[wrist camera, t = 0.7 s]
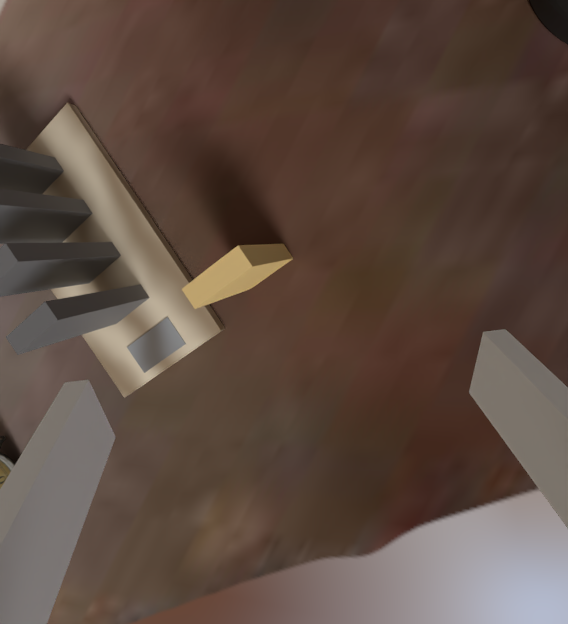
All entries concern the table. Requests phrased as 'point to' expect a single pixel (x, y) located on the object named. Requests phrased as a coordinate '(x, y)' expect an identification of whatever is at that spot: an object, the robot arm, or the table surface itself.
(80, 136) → the birch board
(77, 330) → the domino
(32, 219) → the domino
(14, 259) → the domino
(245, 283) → the ochre domino
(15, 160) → the domino
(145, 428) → the table surface
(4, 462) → the alarm clock
